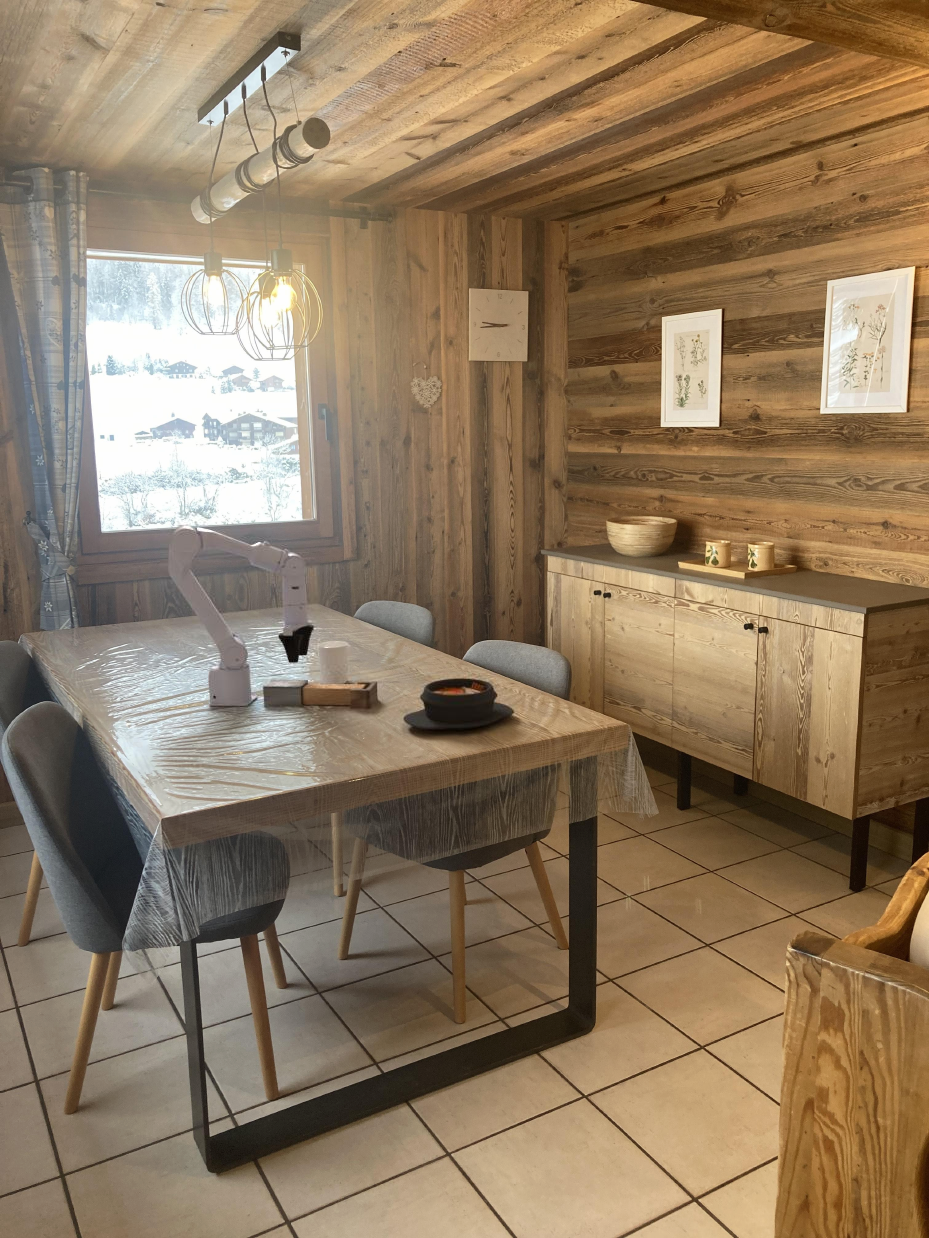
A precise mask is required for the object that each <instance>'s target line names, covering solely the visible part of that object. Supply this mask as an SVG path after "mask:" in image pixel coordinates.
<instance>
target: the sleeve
mask: <svg viewBox="0 0 929 1238" xmlns="http://www.w3.org/2000/svg"><path fill="white" fill-rule="evenodd" d="M305 684H309V679H271V680H269V681H268V682H267V683H266V684H265V685H263V686H262V690H263V691H262V692H263V693H262V694H263V707H276V708H277V707H278V708H279V707H282V708H283V707H284V708H285V707H286V708H291V707H292V708H302V707H303V704H302V695H301V688H302V687H303V686H304V685H305Z"/></svg>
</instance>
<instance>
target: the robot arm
mask: <svg viewBox="0 0 929 1238" xmlns="http://www.w3.org/2000/svg"><path fill="white" fill-rule="evenodd" d="M168 543H169V544H168V568H167V569H168V575H169V577H170V578H171V580H172V581H173V583H174V584H175V586H176V587H177V589H178V590H179V591H180V593H181V594H182V596H183V597H184V599H185V600H186V602H187V603H188V604H189V606H190V607H191V609H192V610H193V612H194V613H195V615H196V616H197V618H198V619H199V621H200V622H201V624H202V625H203V627H204V628H205V630H206V631H207V633H208V634H209V636H210V637H211V639H212V641H213V642H214V644H215V647H217V649H218V651H219V654H220V656H219V657H220V660H221V661H220V662H219V663H218V665H213V666H211V668H209V669H210V670H209V672H208V693H209V703H208V706H215V707H216V706H220V707H222V706H223V707H224V706H225V707H247V706H249V705H250V704H251V703H252V702H254V701H255V700H256V699H257V698H258V695H256V694H255V695H253V694H252V682H251V669H250V662H249V661H248V657H249V653H248V649H247V647H246V646H247V645H246V643H245V641H244V640H243V639H242V637H240V636H238V635H237V634H235V633H234V631H233V630H232V629H231V628H230V626H229V625H228V624H227V622H226V621H225V620H224V618H223V616H222V615H221V613H220V611H219V610H218V609H217V607H216V606H215V605H214V603H213V602H212V600H211V598H209V596H208V594H207V592H206V591H205V589H204V588H203V587H202V585H201V584H200V582H199V581H198V579H197V578H196V576H195V574H194V573H193V572H192V570H191V568H192V564H193V561H194V560H193V559H194V557H195V555H197V553H198V551H200V548H202V552H204V551H207V550H212V549H217V550H221V551H224V552H228V553H230V554H234V555H238V556H241V557H245V558H247V559H248V561H249V563H250V565H251V566H253V567H257V568H259V569H262V570H265V571H269V572H271V573H275V574H280V573H281V574H282V576H281V577H282V585H281V592H282V593H281V595H282V609H283V611H282V612H283V624H282V625H283V628H282V632H280V633H279V634H278V639H279V640H280V642H281V644H282V646H283V648H284V651H285V654H286V655H285V656H286V658H287V661H288V663H290V664H292V663H293V664H297V663H299V659H300V658H299V657H300V656H307V655H308V651H309V644H310V640H311V636H312V633H313V631H314V628H315V626H314V625H313V624H314V621H313V620H309V615H308V598H307V584H306V574H307V572H308V567H307V565H306V561H305V560H304V559H303V558H302V557H301V556H300V555H299V554H296V553H295V552H294V551H291V552H290V550H289V549H286V548H284V549H281V548H278V547H275V546H272V545H271V543H270V542H268V541H263V542H260V541H258V542H256V543H254V544H249V543H247V542H244V541H241V540H239V539H237V538H236V539H235V538H233V537H230V536H228V535H225V534H223V533H220V532H217V531H214V530H211V529H208V528H203V527H194V526H193V525H191V524H190V525H189V524H182V525H180V526H178V527H176V529H174V531H173V533H172V535H171V537H170V541H169V542H168Z"/></svg>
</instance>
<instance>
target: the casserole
mask: <svg viewBox="0 0 929 1238" xmlns="http://www.w3.org/2000/svg"><path fill="white" fill-rule="evenodd" d="M419 698H420V701H422V703H423V707H424V708H423V709H420V710H417V711H414V712H411V713H407V714H405V715H404V716H403V722H404V723H406V724H407V725H409V726H411V727H413V728H417V729H421V730H439V729H441V730H449V731H466V730H472V729H477V728H480V727H483V726H486V725H490V724H492V723H494V722H496V721H499V720H501V719H504V718H507V717H510V716H512V715H513V714H515V710H514V709H513V708H512V707H510V706H509V705H507V704H504V703H500V702H497V701H495V700H496V699H497V698H498V693H497V692H496V691H495V687H494V686H493V684H492V683H490V682H488V681H485V680H482V679H476V678H462V677H461V678H458V677H457V678H456V677H455V678H446V679H441V680H435V681H431V682H429V683H428V684H426V685H424V688H423V692H422V693H421V695H420V696H419Z"/></svg>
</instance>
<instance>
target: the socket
mask: <svg viewBox="0 0 929 1238" xmlns="http://www.w3.org/2000/svg"><path fill="white" fill-rule="evenodd" d="M356 684H366V689H351V690H350V696H351V705H350V708H351V709H358V710H359V709H362V710H363V709H365V710H366V709H367V710H368V709H369V710H370V709H371V708H372V707H373V706H374V705H375V704H376V702H377V701H378V699H379V698H378V697H379V696H378V681H361V680H359V681H357V683H356Z"/></svg>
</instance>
